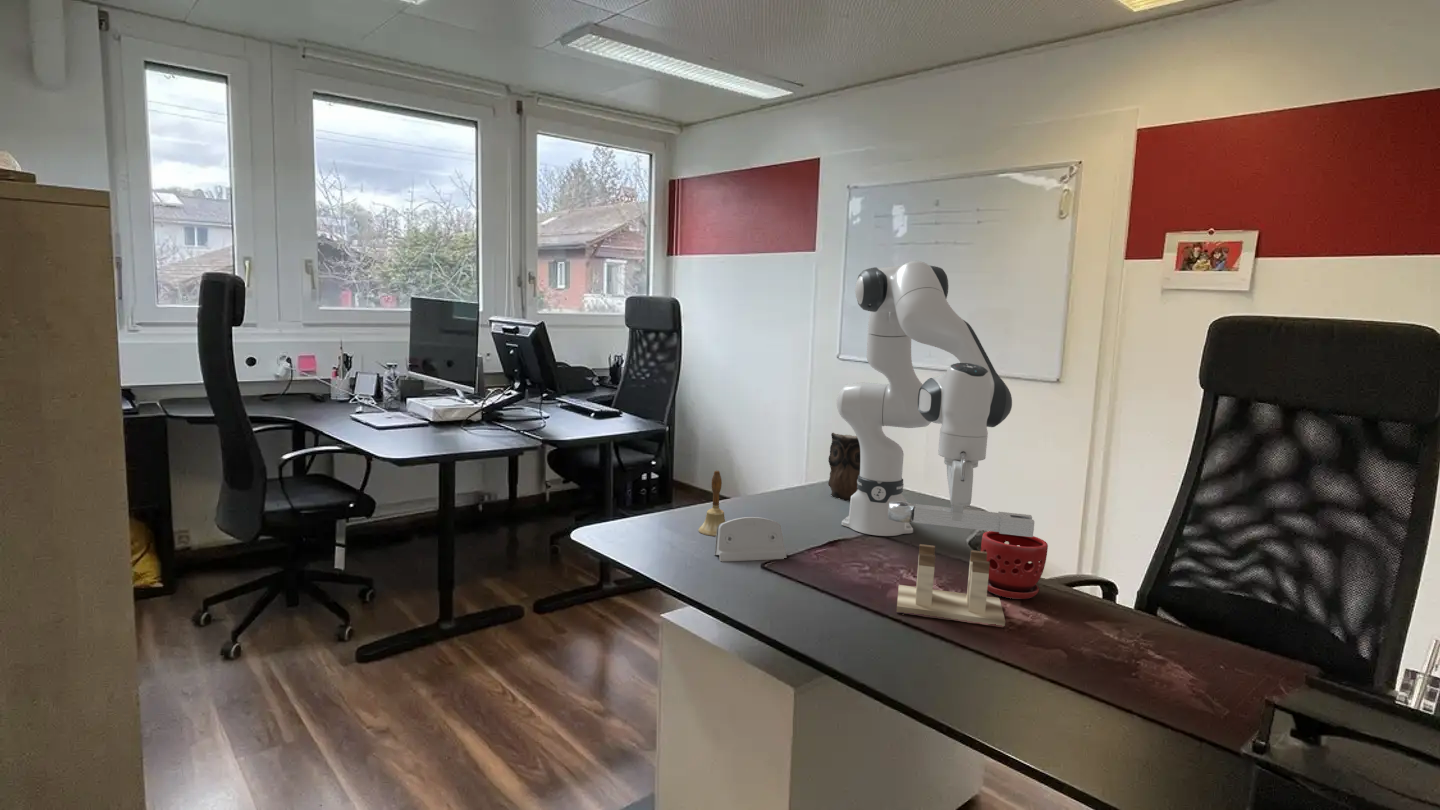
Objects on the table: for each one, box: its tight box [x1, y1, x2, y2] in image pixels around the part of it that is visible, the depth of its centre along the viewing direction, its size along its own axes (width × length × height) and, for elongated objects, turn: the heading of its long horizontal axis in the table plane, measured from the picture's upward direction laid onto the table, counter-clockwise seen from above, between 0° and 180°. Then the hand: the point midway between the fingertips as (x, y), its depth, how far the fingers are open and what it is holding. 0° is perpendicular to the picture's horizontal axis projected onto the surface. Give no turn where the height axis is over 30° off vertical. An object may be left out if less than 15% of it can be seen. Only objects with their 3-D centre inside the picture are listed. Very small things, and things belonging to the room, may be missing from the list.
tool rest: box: [896, 543, 1006, 626], centre depth 153 cm, size 12×20×12 cm, turn 75°
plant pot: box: [980, 531, 1049, 600], centre depth 165 cm, size 13×13×12 cm
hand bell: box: [697, 470, 726, 537], centre depth 198 cm, size 8×8×16 cm
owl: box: [828, 432, 860, 501], centre depth 238 cm, size 13×13×20 cm
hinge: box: [714, 516, 788, 562], centre depth 181 cm, size 17×5×10 cm, turn 104°
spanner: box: [888, 501, 1035, 537], centre depth 152 cm, size 27×5×3 cm, turn 75°
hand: (956, 517), depth 152 cm, fingers closed on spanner, 3 cm apart
